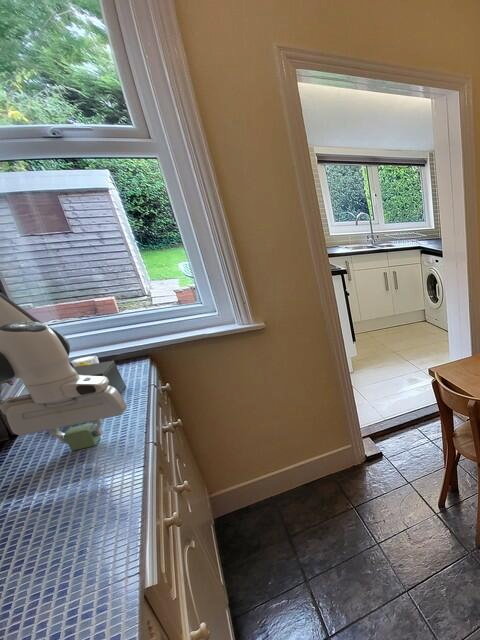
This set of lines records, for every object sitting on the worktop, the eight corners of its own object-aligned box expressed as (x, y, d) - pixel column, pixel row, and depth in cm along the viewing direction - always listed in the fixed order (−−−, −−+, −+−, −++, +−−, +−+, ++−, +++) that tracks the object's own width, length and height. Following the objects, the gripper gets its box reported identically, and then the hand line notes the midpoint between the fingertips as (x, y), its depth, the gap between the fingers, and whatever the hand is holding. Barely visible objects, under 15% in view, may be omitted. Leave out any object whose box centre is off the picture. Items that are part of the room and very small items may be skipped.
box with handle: (115, 401, 128) (101, 373, 124) (61, 412, 123) (44, 383, 119) (126, 386, 139) (113, 360, 135) (76, 396, 133) (62, 368, 129)
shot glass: (84, 375, 151) (75, 357, 148) (108, 371, 153) (99, 354, 150) (76, 382, 145) (67, 363, 142) (101, 377, 148) (92, 359, 145)
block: (71, 451, 102) (62, 435, 100) (77, 442, 105) (69, 427, 103) (95, 445, 104) (87, 430, 102) (100, 437, 107) (93, 422, 105)
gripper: (-12, 405, 91) (20, 457, 97) (108, 383, 100) (131, 432, 106) (1, 395, 96) (32, 445, 102) (115, 375, 105) (137, 422, 111)
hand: (83, 438), depth 104 cm, fingers closed on block, 4 cm apart
